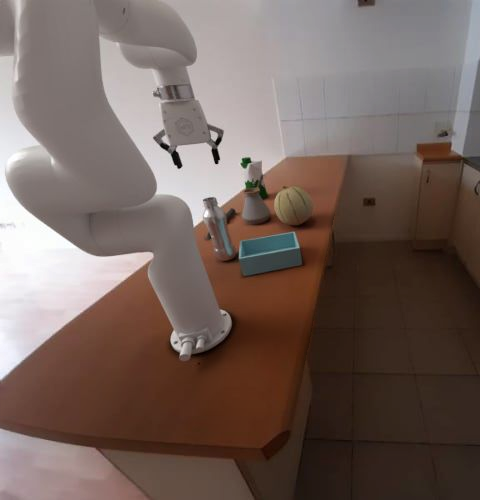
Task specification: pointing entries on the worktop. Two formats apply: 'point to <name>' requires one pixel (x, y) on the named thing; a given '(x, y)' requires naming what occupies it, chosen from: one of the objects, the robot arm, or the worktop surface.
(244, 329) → the worktop surface
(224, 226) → the silver metal bottle
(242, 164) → the milk carton
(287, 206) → the cantaloupe
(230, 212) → the knife
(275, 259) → the bin
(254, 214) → the coffee pot
